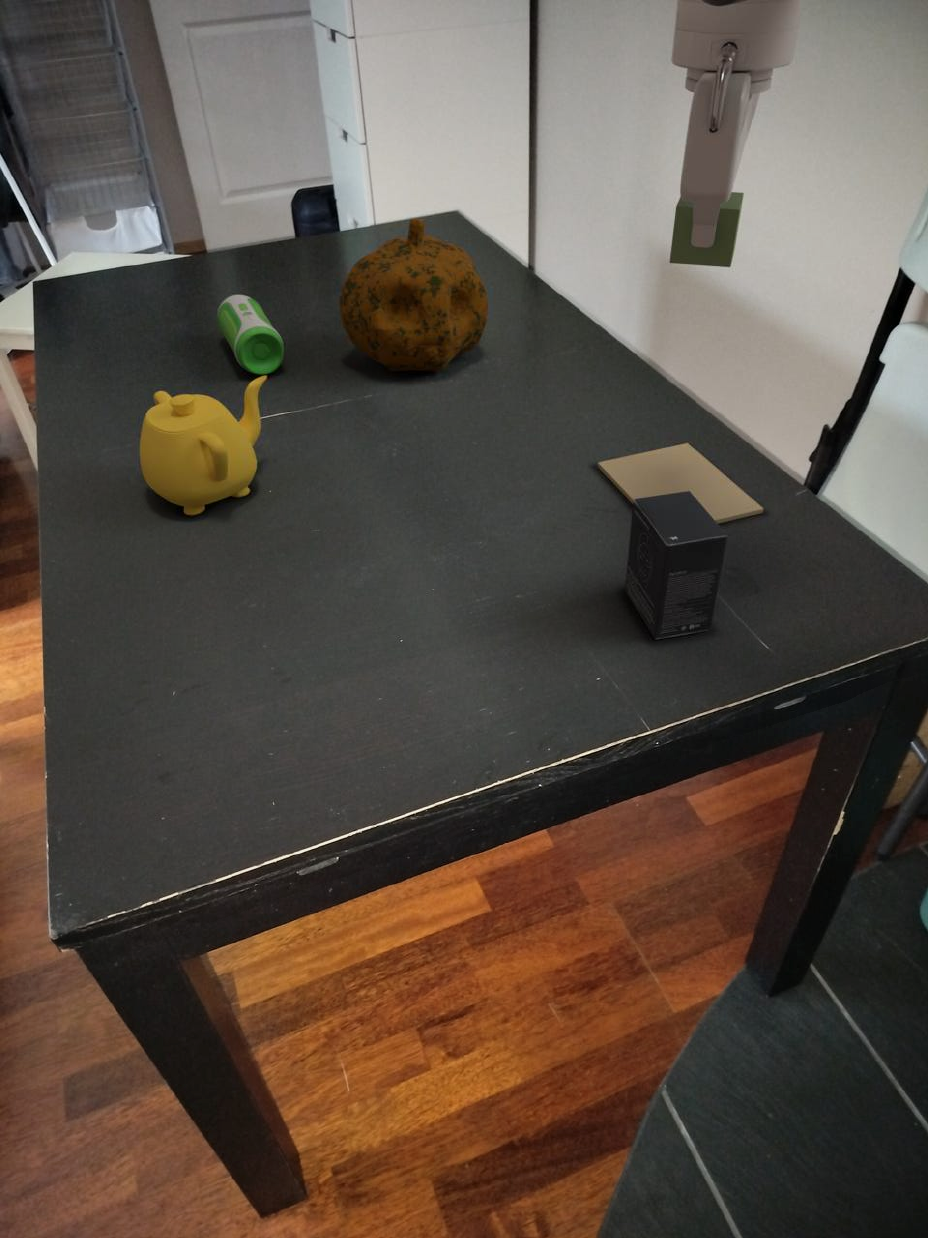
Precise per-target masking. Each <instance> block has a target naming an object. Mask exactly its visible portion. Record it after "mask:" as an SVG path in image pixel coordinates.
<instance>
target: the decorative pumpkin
mask: <svg viewBox="0 0 928 1238" xmlns="http://www.w3.org/2000/svg"><path fill="white" fill-rule="evenodd" d="M408 224H409V225H408V231H407V238H405V237H395V238H393V239H389V240H386V241H385V242H384V243H383V244H381V245H380V246H379V247H378V248H377V249H376V250H375V251H373V252H371V253H368V254H367V255H365V256H363V257H361V258H360V259H359V260H357V262H356V263H355V264H354V265H352V267H351V269H350V271H349V273H348V274H347V275H346V278H345V280H344V282H343V285H342V288H341V291H340V295H339V302H338V304H339V306H338V308H339V314H340V321H341V323H342V326H343V328H344V331H345V333H346V335H347V337H348V340H349V341H350V343H351V345H353V346H354V347H355V348H356V349H357V350H358V351H359V352H360V353H362V355H364V356H366V357H367V358H369V359H370V360H373V361H375V362H378V364H381V365H383V366H384V367H385V369H387V370H389V371H392V372H405V371H427V372H429V371H430V372H439V371H442V370H444V369H445V368H446V367H447V366H448V365H449V363H450V362H451V361H452V360H453V359H454V358H455V357H458V356H460V355H463V354H466V352H468V351H470V350H473V349H474V348H475V347H476V346H477V345H478V344H479V342H480V340H481V338H482V337H483V332H484V330H485V328H486V325H487V322H488V320H487V319H488V314H489V313H488V312H489V304H488V303H489V302H488V296H487V290H486V286H485V284H484V282H483V280H482V279H481V277H480V276H479V274H478V272H477V269H476V266H475V263H474V260H472V258H471V256H470V255H469V254H468V253H467V252H466V251H465V250H464V249H463V248H462V247H460V246H459V245H457V244H455V243H451V242H446V241H443V240H440V239H438V238H436V237H434V236H431V235H428V234H424V232H425V222H424V221H423V219H420V218H417V219H416V218H412V219H410V220H409V223H408Z"/></svg>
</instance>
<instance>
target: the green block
mask: <svg viewBox="0 0 928 1238" xmlns="http://www.w3.org/2000/svg"><path fill="white" fill-rule="evenodd" d="M744 195H745V193H744V192H739V191H738V192H737V191H736V192H735V191H732V192H731V195H730V198H729V200H728V201H727V202H726V203H724V204H721V207H720V212H719V216H718V220H717V227H716V234H715V239H714V243H713V245H712V246H711V247H708V248H705V247H694V246H693V245H692V243H691V237H692V229H693V203H688V202H684V201H682V199H681V196H680V197H679V199H678V200H677V201H678V202H677V203H676V205H675V212H674V220H673V229H672V239H671V244H670V245H671V246H670V254H669V264H676V265H692V266H705V267H722V268H731V267H732V262H733V258H734V253H735V250H736V243H737V237H738V233H739V225H740V219H741V213H742V207H743V201H744Z"/></svg>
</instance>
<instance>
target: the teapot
mask: <svg viewBox="0 0 928 1238" xmlns="http://www.w3.org/2000/svg"><path fill="white" fill-rule="evenodd" d="M267 379H268V375H260V376H259V377H257V378H255V379H254V380H251V382H249V384H248V385H247V386H246V388H245V392H244V395H243V396H244V399H243V401H244V403H243V404H244V410H243V415H242V416H241V418H240V420H239V421H238V420H237V419H236V418H235V416H234V415H233V414H232V412H230V410H229V409H228V408H227V407H226V406H225V405H224V404H223V403H222V402H221V401H219V400H217V399H216V398H214V397H211V396H208V395H205V394H189V393H182V394H177V395H175V396H171V395H170V394H169V393H168V392H167V391H165V390H158V391H156V392H155V393H154V394H153V401H154V404H155V405H154V406H152V407H150V408H149V409H148V410H147V412H146V413H145V415H144V418H143V423H142V428H141V433H140V442H139V459H140V467H141V472H142V476H143V478H144V481H145V483H146V484H147V486H149V488H150V489H151V490H152V491H153V492H154V493H156V494H157V495H159V496H160V498H163V499H165V500H166V501H168V502H170V503H172V504H174V505H176V506H181V507H183V513H184V514H185V515H187V516H195V515H198V514H199V515H200V514H201V513H202V512H204V511H205V508H206V507H205V505H210V504H212V503H215V502H218V501H220V500H223V499H226V498H229V497H234V498H241V497H245V496H247V495H248V494H249V493H250V492H251V489H250V488H249V487H248V486H249V485H250V484H251V483H252V480H253V479H254V477H255V475H256V473H257V468H258V459H257V456H256V452H255V449H254V446H255V444H256V443H257V441H258V439H259V437H260V435H261V430H262V420H261V415H260V414H261V413H260V409H259V392H260V389H261V387H262V385H263V384H264V383H265V381H266V380H267Z"/></svg>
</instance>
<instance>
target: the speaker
mask: <svg viewBox="0 0 928 1238" xmlns="http://www.w3.org/2000/svg"><path fill="white" fill-rule="evenodd" d="M216 318H217V319H216V320H217V324H218V328H219V330H220V332H221V333H222V335H223V336H224V338H225V339H226V341H227V343H228V345H229V347H230V349H231V350H232V353H233V355H234V357H235V360H236V362H237V364H239V366H240V367H242V368H243V369H244V370H246V371H247V372H249V373H251V374H254V375H258V376H267V375H269V374H271V373H274V372H276V370H277V369H278V368H279V367H280V366H281V364H282V363H283V361H284V357H285V356H284V355H285V346H284V341H283V338H282V335H281V334H280V332H278V331H277V329H276V328H274V326H273V324H272V323H271V322H270V320H269V319H268V317H267V315H266V314H265V313H264V310H263V308H262V307H261V305H260V304H259V303H258V302H257V301H256V300H255V299H253V298H252V297H250V296H248V295H244V294H232V295H230V296H227V297H226V298H224V300H222V302H221V303H220V304H219V307H218V310H217V316H216Z"/></svg>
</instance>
